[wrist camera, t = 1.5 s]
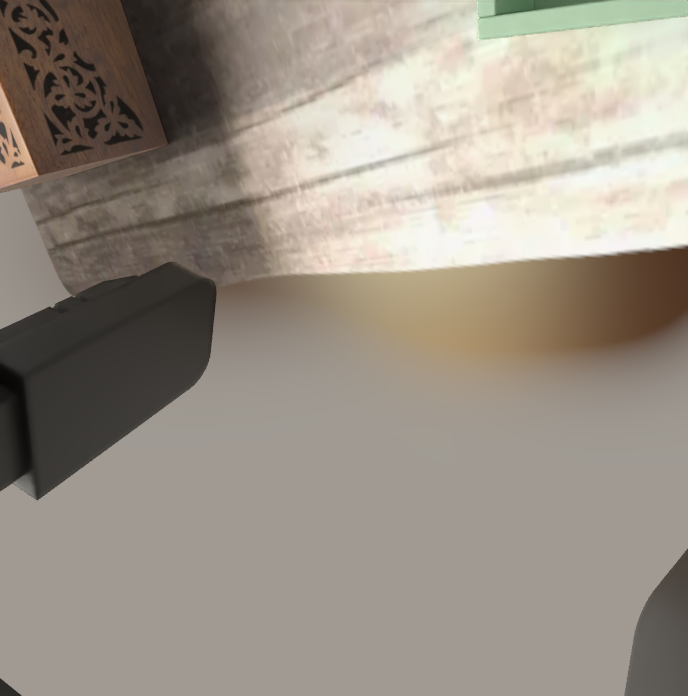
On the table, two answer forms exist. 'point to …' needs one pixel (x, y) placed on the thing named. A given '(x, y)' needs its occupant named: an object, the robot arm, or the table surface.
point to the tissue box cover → (70, 90)
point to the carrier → (567, 14)
